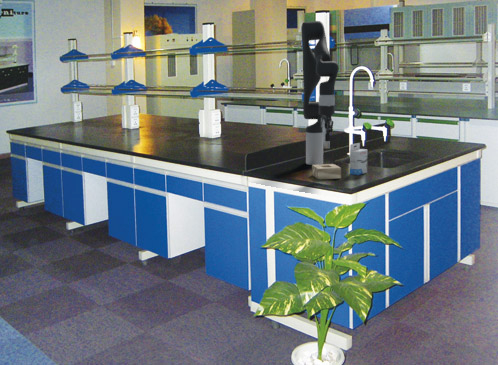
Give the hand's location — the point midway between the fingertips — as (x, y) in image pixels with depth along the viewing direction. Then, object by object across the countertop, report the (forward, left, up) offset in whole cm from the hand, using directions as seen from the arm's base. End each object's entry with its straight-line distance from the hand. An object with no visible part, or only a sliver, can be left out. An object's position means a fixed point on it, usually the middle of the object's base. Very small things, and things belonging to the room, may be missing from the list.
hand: (326, 140), depth 290 cm
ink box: (-3, +18, -18) cm, 25 cm away
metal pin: (0, 0, -4) cm, 4 cm away
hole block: (0, 0, -18) cm, 18 cm away
